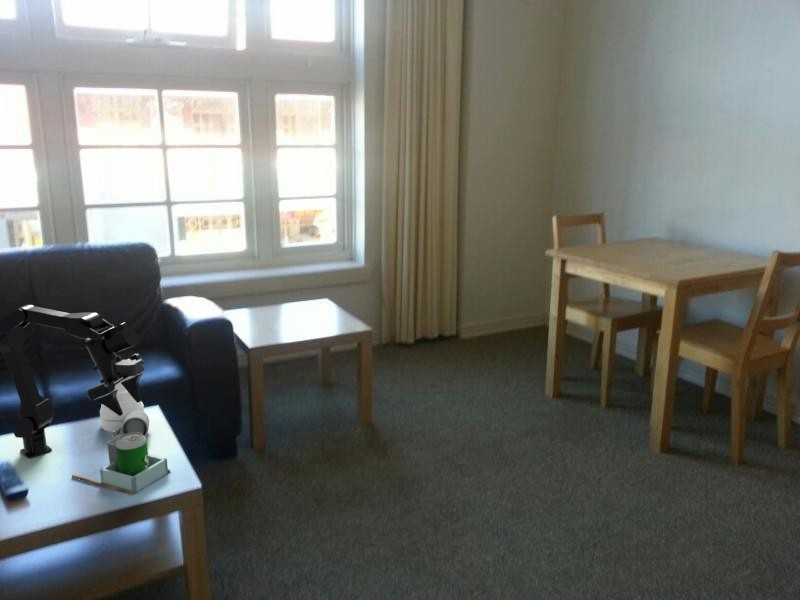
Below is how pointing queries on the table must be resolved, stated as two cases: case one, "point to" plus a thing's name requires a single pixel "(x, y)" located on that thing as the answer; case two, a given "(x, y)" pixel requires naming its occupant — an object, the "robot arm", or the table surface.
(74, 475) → the track
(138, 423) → the ceramic mug
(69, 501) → the table surface
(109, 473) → the pale green open tray
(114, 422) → the honey pot
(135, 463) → the soda can
